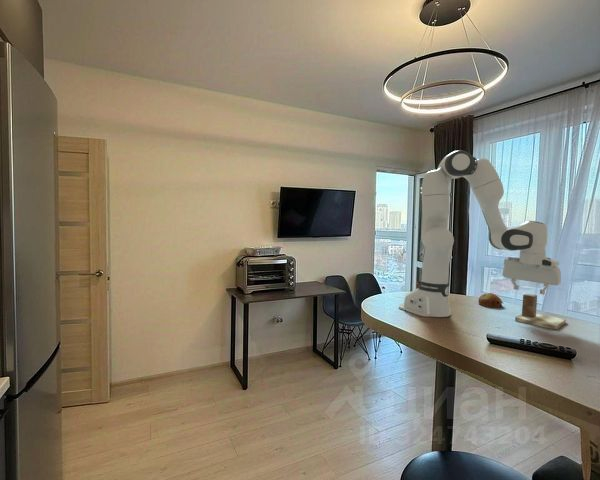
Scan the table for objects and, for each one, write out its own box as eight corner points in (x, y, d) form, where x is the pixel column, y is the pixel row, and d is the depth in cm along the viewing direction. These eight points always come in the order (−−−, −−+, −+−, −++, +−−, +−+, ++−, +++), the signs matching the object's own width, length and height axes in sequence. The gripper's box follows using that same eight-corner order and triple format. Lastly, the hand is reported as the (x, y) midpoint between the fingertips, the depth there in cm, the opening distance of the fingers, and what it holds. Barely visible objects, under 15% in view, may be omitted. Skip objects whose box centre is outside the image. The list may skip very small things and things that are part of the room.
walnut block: (521, 315, 138) (523, 294, 137) (524, 313, 141) (526, 293, 140) (532, 317, 135) (534, 296, 134) (535, 316, 138) (537, 295, 137)
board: (515, 320, 136) (515, 317, 136) (525, 314, 145) (526, 311, 145) (556, 329, 125) (556, 326, 125) (565, 322, 134) (565, 319, 134)
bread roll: (492, 309, 165) (487, 294, 168) (509, 306, 156) (503, 290, 159) (477, 311, 162) (472, 295, 165) (494, 307, 153) (488, 291, 156)
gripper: (501, 256, 142) (498, 287, 143) (559, 263, 126) (556, 297, 127) (506, 256, 146) (504, 286, 147) (563, 262, 130) (560, 296, 132)
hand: (528, 291), depth 137 cm, fingers open, 8 cm apart
